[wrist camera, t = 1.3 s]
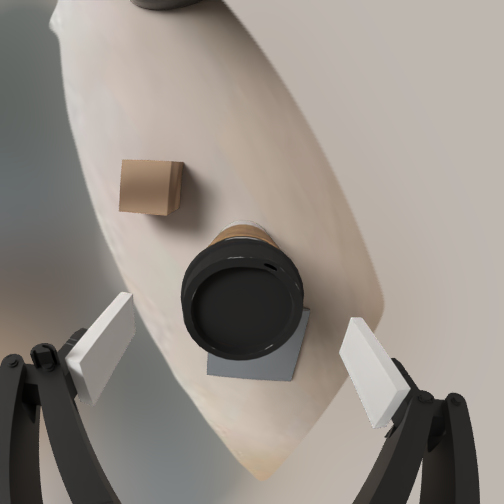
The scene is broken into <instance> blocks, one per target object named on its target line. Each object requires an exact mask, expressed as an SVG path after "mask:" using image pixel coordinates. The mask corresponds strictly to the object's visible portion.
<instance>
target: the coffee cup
mask: <svg viewBox="0 0 504 504" xmlns="http://www.w3.org/2000/svg"><path fill="white" fill-rule="evenodd" d="M303 299H304V290H303V283H302V280H301V277H300V275H299V272H298V270H297V268H296V267H295V265H294V264H293V262H292V261H291V259H290V258H289V257H288V256H287V255H285V254H284V253H283V252H282V251H281V250H280V249H279V248H278V246H277V245H276V244H275V243H274V242H273V240H272V239H271V238H270V237H269V235H268V234H267V233H266V231H265V230H264V229H263V228H262V227H261V226H260V225H258V224H256V223H254V222H251V221H246V220H240V221H235V222H233V223H231V224H229V225H227V226H226V227H225V228H224V229H223V230H222V231H221V232H220V234H219V235H218V236H217V237H216V238H215V239H214V240H213V241H212V242H211V244H210V245H209V246H208V247H207V248H206V249H205V250H203V251H202V252H200V253H199V254H198V255H197V256H196V257H195V259H194V260H193V261H192V262H191V263H190V265H189V267H188V268H187V270H186V272H185V275H184V279H183V282H182V288H181V304H182V311H183V319H184V323H185V325H186V328H187V331H188V332H189V334H190V335H191V337H192V339H193V340H194V341H195V342H196V343H197V344H198V345H199V346H200V347H201V348H203V349H204V350H205V351H207V352H209V353H211V354H213V355H215V356H217V357H220V358H223V359H227V360H235V361H245V360H252V359H257V358H261V357H263V356H266V355H268V354H270V353H272V352H274V351H275V350H277V349H279V348H280V347H281V346H282V345H284V344H285V343H286V342H287V341H288V340H289V339H290V338H291V336H292V335H293V334H294V332H295V331H296V329H297V327H298V325H299V323H300V320H301V318H302V312H303Z"/></svg>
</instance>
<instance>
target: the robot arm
mask: <svg viewBox="0 0 504 504" xmlns="http://www.w3.org/2000/svg"><path fill="white" fill-rule="evenodd" d="M130 1H131V2H133V3H134V4H135V5H137V6H140V7H142V8H147V9H156V10H163V9H173V8H179V7H183V6H187V5H191V4H194V3H197V2H200V1H202V0H130ZM135 333H136V329H135V319H134V305H133V294H130V293H125V292H121V293H120V294H119V295H118V296H117V297H116V298H115V300H114V301H113V302H112V303H111V304H110V305H109V306H108V307H107V309H106V310H105V311H104V312H103V313H102V314H101V316H100V317H99V318H98V319H97V320H96V321H95V322H94V324H93V325H92V326H91V327H90V328H89V329H84V328H82V329H80V330H78V331H76V332H75V333H74V334H73V335H72V336H71V337H70V339H69V340H68V341H67V342H66V344H64V345H63V346H62V348H61V349H60V350H59V351H58V352H57V351H56V349H55V347H54V346H53V345H51V344H48V343H42V344H38V345H36V346H35V347H33V348H32V350H31V353H30V355H31V358H32V361H33V363H34V365H32V364H25V363H24V360H23V358H22V357H21V356H20V355H17V354H10V355H8V356H6V357H5V358H4V359H3V360H2V363H1V366H0V504H43V500H42V492H41V483H40V469H39V423H40V407H41V406H42V411H43V416H44V421H45V425H46V429H47V433H48V437H49V440H50V444H51V447H52V451H53V454H54V457H55V460H56V463H57V466H58V469H59V472H60V474H61V477H62V480H63V482H64V485H65V487H66V490H67V492H68V494H69V497H70V499H71V501H72V503H73V504H121V502H120V500H119V499H118V497H117V495H116V494H115V492H114V490H113V488H112V487H111V485H110V483H109V481H108V479H107V477H106V475H105V473H104V471H103V469H102V467H101V465H100V463H99V461H98V459H97V457H96V454H95V452H94V450H93V448H92V445H91V444H90V441H89V438H88V436H87V433H86V431H85V428H84V426H83V423H82V420H81V418H80V415H79V412H78V409H77V406H76V403H75V401H74V398H75V396H76V395H77V394H78V397H79V399H80V401H81V402H83V403H86V404H89V405H92V406H94V405H95V403H96V401H97V400H98V398H99V396H100V394H101V392H102V390H103V389H104V386H105V385H106V383H107V381H108V380H109V378H110V376H111V374H112V372H113V371H114V369H115V367H116V365H117V364H118V362H119V360H120V358H121V357H122V355H123V353H124V351H125V350H126V348H127V346H128V345H129V343H130V341H131V340H132V338H133V336H134V334H135ZM339 354H340V356H341V358H342V360H343V362H344V364H345V367H346V369H347V371H348V373H349V375H350V377H351V380H352V382H353V384H354V386H355V388H356V391H357V393H358V395H359V397H360V400H361V402H362V404H363V406H364V409H365V411H366V413H367V415H368V417H369V420H370V422H371V425H372V427H373V429H375V428H381V427H386V426H387V424H388V423H389V421H390V420H391V419H392V421H393V423H394V425H393V426H392V428H391V429H390V430H389V432H388V433H387V434H386V436H385V438H386V437H387V439H386V441H385V443H384V445H383V448H382V450H381V452H380V454H379V456H378V458H377V460H376V462H375V464H374V466H373V468H372V470H371V472H370V474H369V476H368V478H367V480H366V482H365V483H364V485H363V487H362V488H361V490H360V492H359V494H358V495H357V497H356V499H355V500H354V502H353V503H352V504H406V503H407V500H408V498H409V495H410V493H411V490H412V487H413V485H414V482H415V479H416V476H417V473H418V470H419V467H420V464H421V461H422V458H423V461H422V462H423V464H422V483H421V493H420V503H419V504H480V492H479V476H478V465H477V457H476V450H475V443H474V437H473V432H472V426H471V422H470V417H469V412H468V408H467V404H466V401H465V399H464V398H463V396H461V395H460V394H457V393H450V394H448V396H447V397H446V399H445V400H439V399H434V396H433V395H431V394H430V393H429V392H427V391H423V390H419V389H418V387H417V386H416V384H415V383H414V381H413V380H412V378H411V377H410V375H408V373H407V371H406V370H405V368H404V367H403V365H402V364H401V363H400V362H399V361H398V360H396V359H395V358H390V357H389V356H388V354H387V353H386V351H385V350H384V348H383V347H382V345H381V344H380V342H379V341H378V340H377V338H376V337H375V335H374V334H373V332H372V331H371V330H370V328H369V327H368V325H367V324H366V323H365V321H364V320H363V318H362V317H351V319H350V322H349V325H348V328H347V331H346V334H345V337H344V340H343V343H342V346H341V349H340V351H339Z"/></svg>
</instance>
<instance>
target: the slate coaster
mask: <svg viewBox="0 0 504 504" xmlns="http://www.w3.org/2000/svg"><path fill="white" fill-rule="evenodd" d="M309 314H310V309H304V308H303V312H302V318H301V320H300V323H299V325H298V327H297V329H296V331H295V332H294V334H293V335H292V336H291V338H290V339H289V340H288V341H287V342H286V343H285V344H284V345H282V346H281V347H280V348H279V349H277V350H275V351H274V352H272V353H270V354H268V355H266V356H263V357H261V358H257V359H252V360H245V361H235V360H227V359H223V358H220V357H217V356H215V355H213V354H211V353H209V352H208V361H207V375H214V376H222V377H232V378H243V379H256V380H274V381H291V379H292V375H293V372H294V369H295V365H296V362H297V358H298V355H299V352H300V348H301V344H302V341H303V337H304V334H305V330H306V326H307V322H308V318H309Z"/></svg>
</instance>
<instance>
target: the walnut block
mask: <svg viewBox="0 0 504 504" xmlns="http://www.w3.org/2000/svg"><path fill="white" fill-rule="evenodd" d="M182 171H183V162H172V161H152V160H122V169H121V183H120V202H119V211H121V212H132V213H143V214H154V215H165V216H167V215H169V214H170V213H172V212H173V211H175V210H176V209H178V208H179V203H180V192H181V181H182Z"/></svg>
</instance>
